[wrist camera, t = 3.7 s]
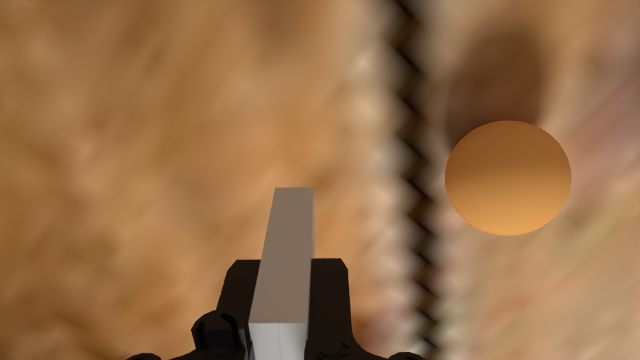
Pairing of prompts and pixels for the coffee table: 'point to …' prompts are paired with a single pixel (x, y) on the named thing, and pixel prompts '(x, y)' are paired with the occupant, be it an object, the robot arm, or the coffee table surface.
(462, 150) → the ball
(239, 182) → the coffee table surface
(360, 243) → the coffee table surface
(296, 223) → the robot arm
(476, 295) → the coffee table surface
